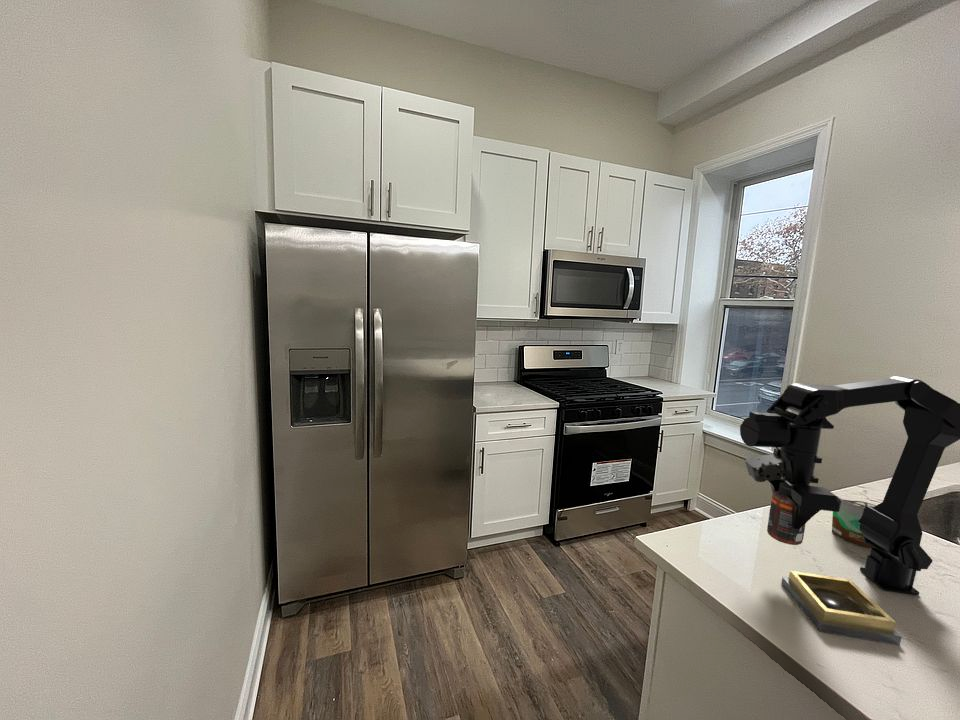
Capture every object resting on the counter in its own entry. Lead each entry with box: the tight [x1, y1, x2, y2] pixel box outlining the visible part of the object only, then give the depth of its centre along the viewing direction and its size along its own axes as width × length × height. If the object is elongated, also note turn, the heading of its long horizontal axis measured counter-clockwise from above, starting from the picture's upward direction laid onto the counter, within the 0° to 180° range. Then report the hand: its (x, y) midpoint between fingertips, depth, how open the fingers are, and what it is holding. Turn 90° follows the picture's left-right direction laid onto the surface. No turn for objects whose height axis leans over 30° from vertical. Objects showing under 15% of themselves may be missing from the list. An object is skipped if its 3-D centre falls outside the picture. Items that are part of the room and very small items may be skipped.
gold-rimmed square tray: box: [780, 570, 903, 646], centre depth 74 cm, size 12×12×4 cm
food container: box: [831, 493, 877, 549], centre depth 95 cm, size 12×6×10 cm, turn 68°
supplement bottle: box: [766, 483, 807, 546], centre depth 81 cm, size 6×6×11 cm
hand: (787, 519), depth 81 cm, fingers closed on supplement bottle, 6 cm apart
